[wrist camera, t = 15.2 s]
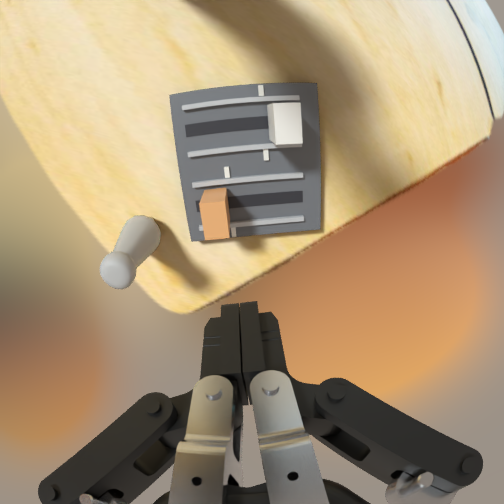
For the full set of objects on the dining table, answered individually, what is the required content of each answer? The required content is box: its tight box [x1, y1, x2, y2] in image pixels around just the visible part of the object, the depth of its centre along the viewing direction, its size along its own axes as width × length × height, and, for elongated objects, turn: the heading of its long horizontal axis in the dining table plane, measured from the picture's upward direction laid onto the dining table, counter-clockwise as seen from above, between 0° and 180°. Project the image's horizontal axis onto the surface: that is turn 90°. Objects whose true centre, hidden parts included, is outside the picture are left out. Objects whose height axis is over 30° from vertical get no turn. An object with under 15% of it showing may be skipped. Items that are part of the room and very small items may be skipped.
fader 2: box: [267, 103, 303, 145], centre depth 28 cm, size 4×3×6 cm, turn 4°
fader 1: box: [199, 188, 230, 240], centre depth 33 cm, size 4×3×6 cm, turn 4°
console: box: [169, 83, 321, 241], centre depth 34 cm, size 20×18×3 cm
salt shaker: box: [100, 215, 161, 289], centre depth 33 cm, size 6×6×13 cm
